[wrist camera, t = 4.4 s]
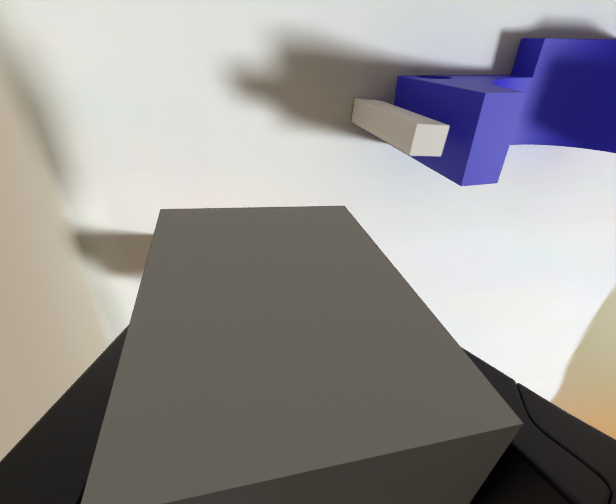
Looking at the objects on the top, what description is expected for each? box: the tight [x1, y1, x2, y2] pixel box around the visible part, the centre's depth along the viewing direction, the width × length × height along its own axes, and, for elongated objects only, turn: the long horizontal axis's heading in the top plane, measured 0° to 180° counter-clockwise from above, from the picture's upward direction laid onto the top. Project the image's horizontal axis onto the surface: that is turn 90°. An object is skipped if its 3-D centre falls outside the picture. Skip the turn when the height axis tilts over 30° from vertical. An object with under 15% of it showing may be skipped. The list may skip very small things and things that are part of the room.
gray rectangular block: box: [81, 206, 523, 504], centre depth 6 cm, size 4×4×6 cm
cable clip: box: [391, 38, 616, 186], centre depth 15 cm, size 12×4×6 cm, turn 89°
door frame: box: [351, 98, 450, 156], centre depth 17 cm, size 15×1×6 cm, turn 175°
